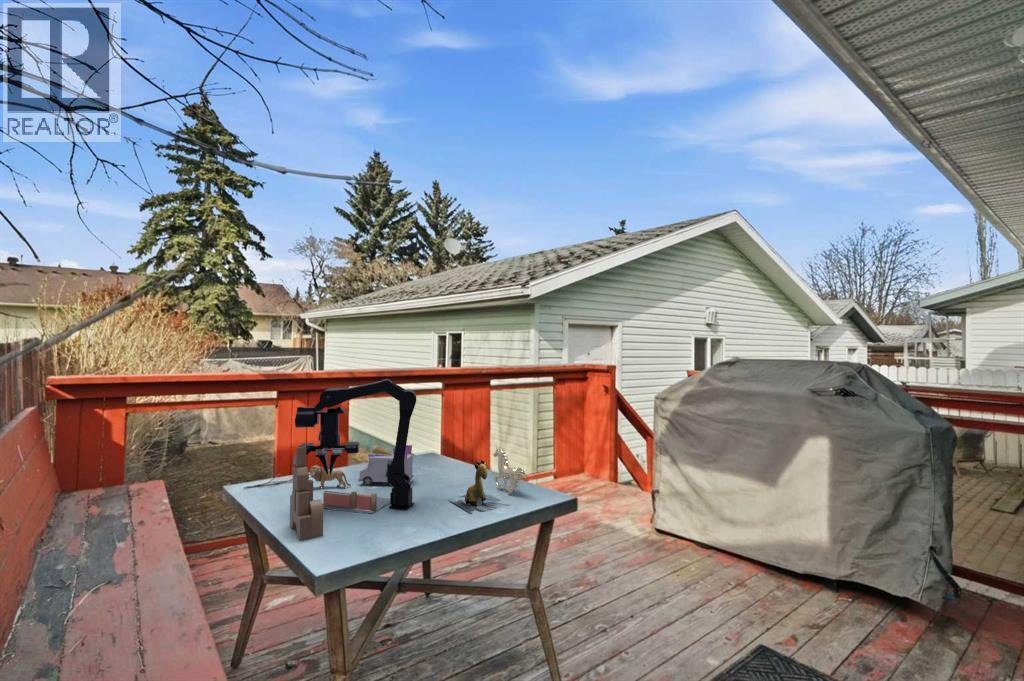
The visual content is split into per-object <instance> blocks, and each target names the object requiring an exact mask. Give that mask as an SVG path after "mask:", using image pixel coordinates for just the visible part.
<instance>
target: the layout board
mask: <svg viewBox="0 0 1024 681" xmlns="http://www.w3.org/2000/svg"><path fill="white" fill-rule="evenodd" d="M387 504H388V505H389V504H390V497H378V496H377V510H376V511H377V512H379V511H380V510H382V509H383V508H385V507H386V506H388V505H387ZM385 505H386V506H385ZM322 506H323V508H327V509H326V510H331V509H336V510H335V511H340V510H342V511H343V512H348V511H353V512H352V513H357V512H362V513H361V514H366V513H370V514H369V515H374V514H375V513H376V511H371V509H361V508H356V509H351V507H343V506H334V505H325V504H323V503H322ZM384 506H385V507H384ZM382 507H383V508H382ZM381 508H382V509H381ZM379 509H380V510H379ZM378 510H379V511H378ZM373 513H374V514H373Z"/></svg>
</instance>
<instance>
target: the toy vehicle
mask: <svg viewBox="0 0 1024 681" xmlns="http://www.w3.org/2000/svg"><path fill="white" fill-rule="evenodd" d="M371 450H372V451H371V452H372V454H371V453H368V455H367V456H368V458H369V459H368V463H367V466H365V467H364V468H362V470H360V471H359V478H358V480H357V481H358V482H363V484H364V486H366V485H370V486H372V484H373V483H375V482H376V483H381V482H382V483H388V481H387V477H385V475H386V470H387V463H388V460H390V461H392V459H393V457H394V452H395V448H392V452H393V453H390V452H389V451H387V450H386V449H384V448H383V447H381V446H380V445H373V447H372V449H371ZM412 450H413V444H406V450H405V457H404V460H405V474H406V475H408V476H409V477H410V478H411V480H412V479H413V478H414V474H413V469H414V468H413V462H414V461H413V457H414V455H413V453H412V452H413V451H412Z"/></svg>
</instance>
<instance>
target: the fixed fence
mask: <svg viewBox="0 0 1024 681" xmlns="http://www.w3.org/2000/svg"><path fill="white" fill-rule="evenodd" d="M350 493H351V509H356V508H361V509H371V511H376V510H377V497H378V496H377V493H371V494H370V495H369V494H358V492H357V491H351V492H350Z"/></svg>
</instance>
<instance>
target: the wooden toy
mask: <svg viewBox="0 0 1024 681" xmlns="http://www.w3.org/2000/svg"><path fill="white" fill-rule="evenodd" d="M292 464H293V466H292V491H291V494H290V495H289V496H290V497H289V526H290V528H291V529H292V530H296V537H297V538H298V540H299V541H300V540H302V541H305V540H311V539H314V538H318V536H319V537H322V536H324V509H323V506H322V504H323V501H322V499H320V498H319V499H314V480H313V479H310V471H309V469H308V466H307V455H306V446H304V447H299V446H298V447H296V449H295V454H294V457H293V460H292Z"/></svg>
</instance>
